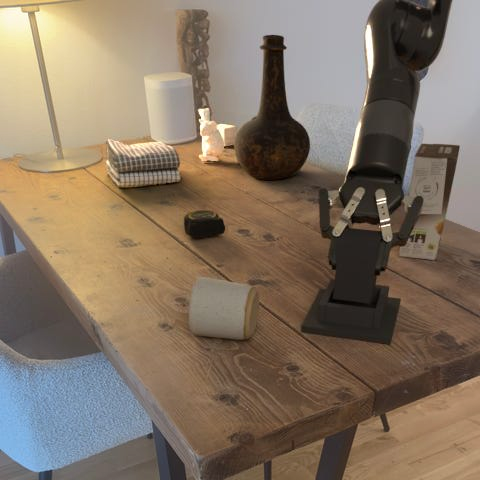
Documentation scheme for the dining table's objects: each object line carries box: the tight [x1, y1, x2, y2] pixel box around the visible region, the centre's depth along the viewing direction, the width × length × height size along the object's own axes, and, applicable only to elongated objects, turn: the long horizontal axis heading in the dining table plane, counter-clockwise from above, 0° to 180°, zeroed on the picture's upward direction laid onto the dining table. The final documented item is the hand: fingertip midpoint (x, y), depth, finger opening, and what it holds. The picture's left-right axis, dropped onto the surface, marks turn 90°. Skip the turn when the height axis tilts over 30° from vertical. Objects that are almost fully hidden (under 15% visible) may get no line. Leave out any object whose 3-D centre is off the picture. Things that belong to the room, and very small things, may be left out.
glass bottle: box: [233, 34, 311, 181], centre depth 128 cm, size 18×18×28 cm
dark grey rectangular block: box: [333, 227, 382, 304], centre depth 75 cm, size 5×5×8 cm
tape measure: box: [183, 209, 226, 239], centre depth 105 cm, size 7×7×4 cm
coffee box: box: [398, 143, 461, 261], centre depth 94 cm, size 9×6×16 cm
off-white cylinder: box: [188, 276, 260, 341], centre depth 76 cm, size 11×8×8 cm
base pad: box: [300, 278, 402, 346], centre depth 79 cm, size 12×12×4 cm
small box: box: [217, 123, 238, 146], centre depth 160 cm, size 6×6×5 cm
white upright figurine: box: [197, 107, 225, 162], centre depth 144 cm, size 8×7×12 cm
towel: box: [105, 138, 182, 189], centre depth 134 cm, size 15×18×8 cm
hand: (355, 270), depth 74 cm, fingers closed on dark grey rectangular block, 5 cm apart
